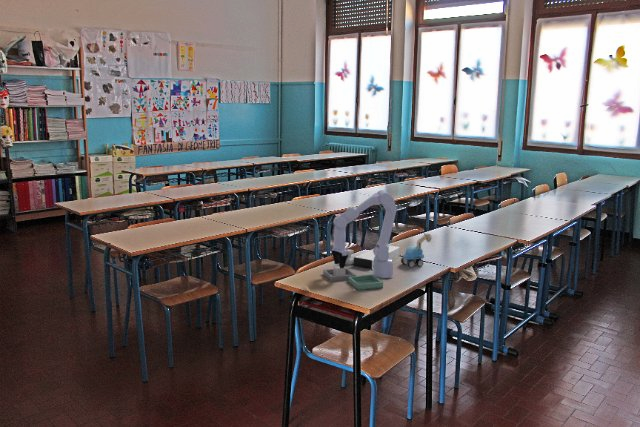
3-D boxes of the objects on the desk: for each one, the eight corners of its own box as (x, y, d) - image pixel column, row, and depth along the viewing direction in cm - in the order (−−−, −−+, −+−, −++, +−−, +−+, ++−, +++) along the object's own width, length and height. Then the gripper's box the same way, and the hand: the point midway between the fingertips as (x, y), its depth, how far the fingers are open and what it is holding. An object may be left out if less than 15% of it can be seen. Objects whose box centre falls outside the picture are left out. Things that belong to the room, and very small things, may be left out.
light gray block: (342, 274, 287) (342, 265, 286) (345, 277, 283) (345, 267, 282) (333, 275, 285) (333, 266, 284) (336, 278, 281) (336, 268, 280)
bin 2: (372, 280, 281) (372, 274, 280) (382, 288, 268) (383, 282, 268) (348, 282, 277) (348, 276, 276) (357, 290, 264) (357, 284, 264)
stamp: (358, 265, 307) (358, 250, 306) (351, 267, 302) (351, 252, 301) (345, 262, 313) (345, 247, 311) (338, 264, 308) (338, 249, 306)
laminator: (382, 254, 331) (382, 244, 329) (401, 257, 324) (401, 247, 323) (353, 268, 303) (353, 257, 302) (373, 271, 296) (373, 260, 295)
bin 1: (346, 273, 292) (346, 267, 292) (355, 280, 280) (356, 274, 279) (323, 275, 288) (323, 269, 288) (331, 283, 276) (331, 277, 275)
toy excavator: (433, 265, 307) (435, 234, 304) (407, 268, 301) (408, 237, 298) (425, 261, 315) (426, 231, 312) (399, 264, 309) (400, 234, 306)
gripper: (327, 237, 286) (327, 262, 288) (337, 243, 272) (336, 270, 275) (340, 236, 288) (340, 261, 291) (350, 242, 274) (350, 269, 277)
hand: (339, 265), depth 283 cm, fingers open, 7 cm apart
